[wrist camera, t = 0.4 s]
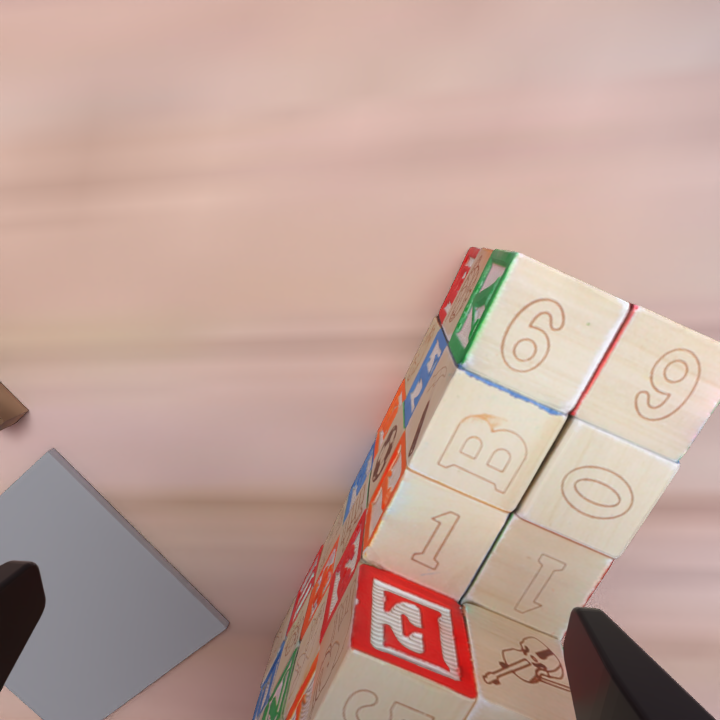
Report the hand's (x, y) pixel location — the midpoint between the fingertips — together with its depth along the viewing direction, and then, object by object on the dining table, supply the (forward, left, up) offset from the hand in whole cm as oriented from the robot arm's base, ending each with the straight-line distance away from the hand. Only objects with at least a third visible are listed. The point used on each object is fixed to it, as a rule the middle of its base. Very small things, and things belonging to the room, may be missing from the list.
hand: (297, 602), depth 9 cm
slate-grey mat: (-15, +13, -14) cm, 24 cm away
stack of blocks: (-5, -4, -14) cm, 16 cm away
